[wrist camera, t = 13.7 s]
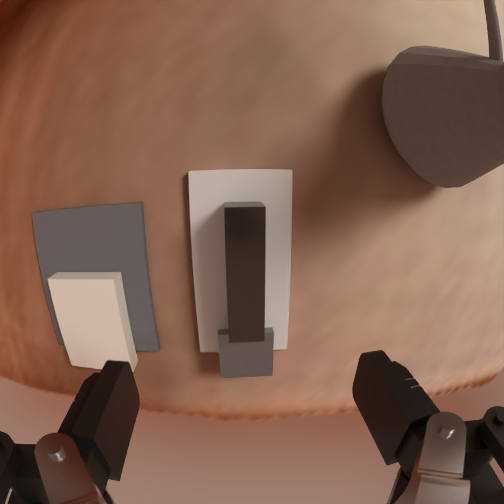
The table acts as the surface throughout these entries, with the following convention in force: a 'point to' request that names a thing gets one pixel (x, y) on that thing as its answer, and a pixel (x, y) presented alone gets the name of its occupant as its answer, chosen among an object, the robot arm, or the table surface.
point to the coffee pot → (448, 109)
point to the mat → (100, 257)
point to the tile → (93, 317)
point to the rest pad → (213, 245)
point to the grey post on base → (245, 294)
